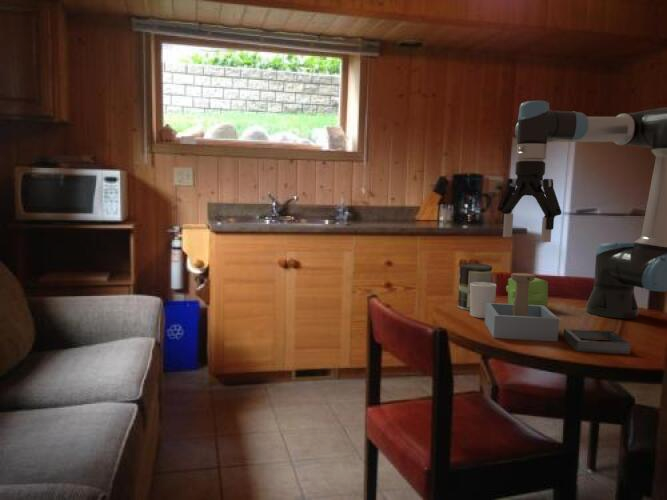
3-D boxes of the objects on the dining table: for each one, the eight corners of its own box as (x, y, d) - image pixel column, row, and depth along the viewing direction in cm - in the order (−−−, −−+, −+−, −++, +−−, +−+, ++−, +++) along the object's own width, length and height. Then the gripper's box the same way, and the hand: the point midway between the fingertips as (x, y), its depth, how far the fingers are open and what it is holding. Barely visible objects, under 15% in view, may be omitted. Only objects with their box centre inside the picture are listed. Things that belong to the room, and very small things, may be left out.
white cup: (491, 313, 179) (493, 282, 177) (496, 319, 171) (498, 286, 170) (466, 312, 179) (468, 281, 178) (470, 318, 172) (471, 285, 170)
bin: (542, 325, 165) (543, 305, 164) (557, 341, 148) (559, 319, 148) (484, 322, 167) (485, 302, 166) (493, 337, 150) (494, 315, 150)
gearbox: (496, 302, 199) (496, 275, 198) (521, 300, 201) (522, 273, 200) (525, 313, 181) (526, 283, 180) (552, 310, 184) (553, 281, 182)
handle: (534, 329, 156) (538, 275, 155) (515, 330, 154) (518, 275, 153) (523, 325, 161) (527, 273, 159) (504, 326, 159) (507, 273, 157)
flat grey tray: (611, 340, 151) (612, 331, 151) (629, 354, 139) (630, 344, 139) (563, 337, 152) (563, 328, 152) (577, 351, 140) (578, 341, 140)
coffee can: (451, 307, 185) (454, 265, 184) (466, 302, 193) (468, 262, 192) (481, 313, 179) (483, 269, 177) (494, 307, 187) (497, 265, 185)
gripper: (487, 161, 161) (483, 235, 163) (559, 159, 139) (553, 244, 142) (506, 161, 164) (502, 234, 167) (579, 160, 143) (573, 243, 145)
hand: (525, 239), depth 154 cm, fingers open, 13 cm apart
